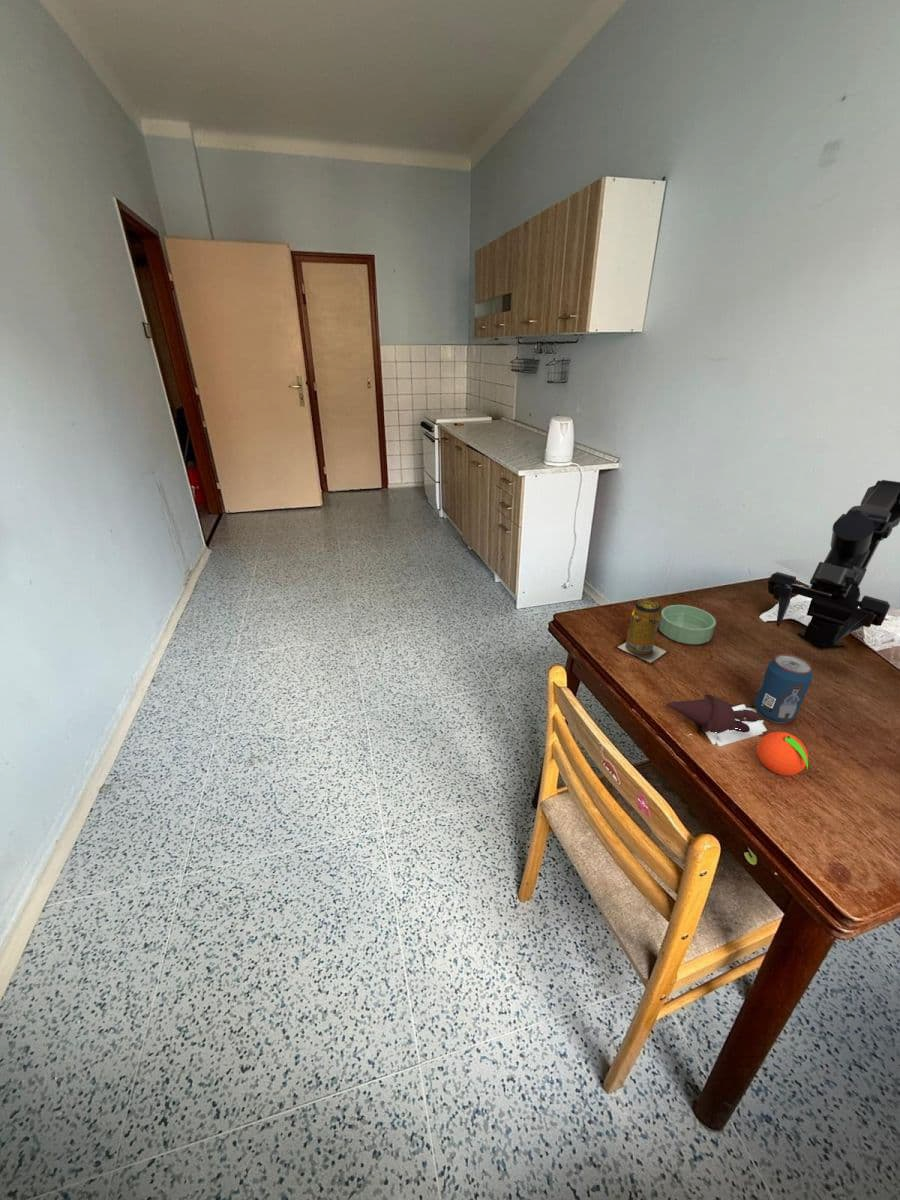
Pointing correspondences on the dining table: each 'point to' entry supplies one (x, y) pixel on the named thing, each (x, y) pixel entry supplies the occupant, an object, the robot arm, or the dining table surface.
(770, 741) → the clementine
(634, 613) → the condiment
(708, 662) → the dining table surface
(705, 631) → the pale green shallow bowl
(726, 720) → the icecream
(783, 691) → the soda can
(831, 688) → the dining table surface
